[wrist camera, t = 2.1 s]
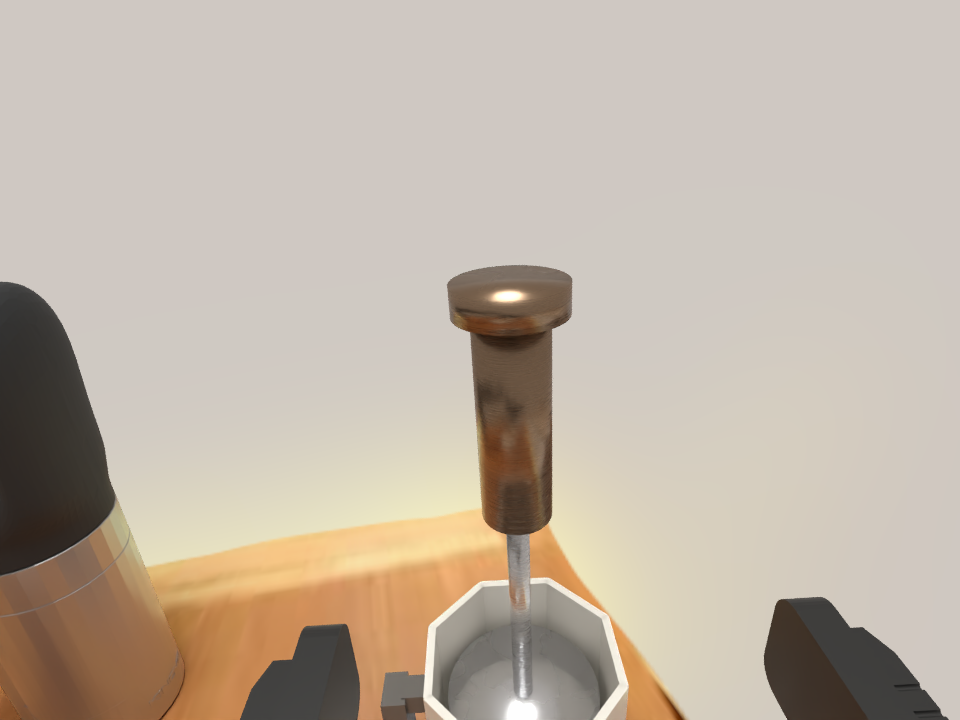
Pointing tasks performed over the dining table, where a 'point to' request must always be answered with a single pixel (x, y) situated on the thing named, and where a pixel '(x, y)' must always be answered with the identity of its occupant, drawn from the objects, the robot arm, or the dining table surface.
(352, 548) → the dining table surface
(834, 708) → the robot arm
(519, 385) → the plunger
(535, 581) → the coffee press
